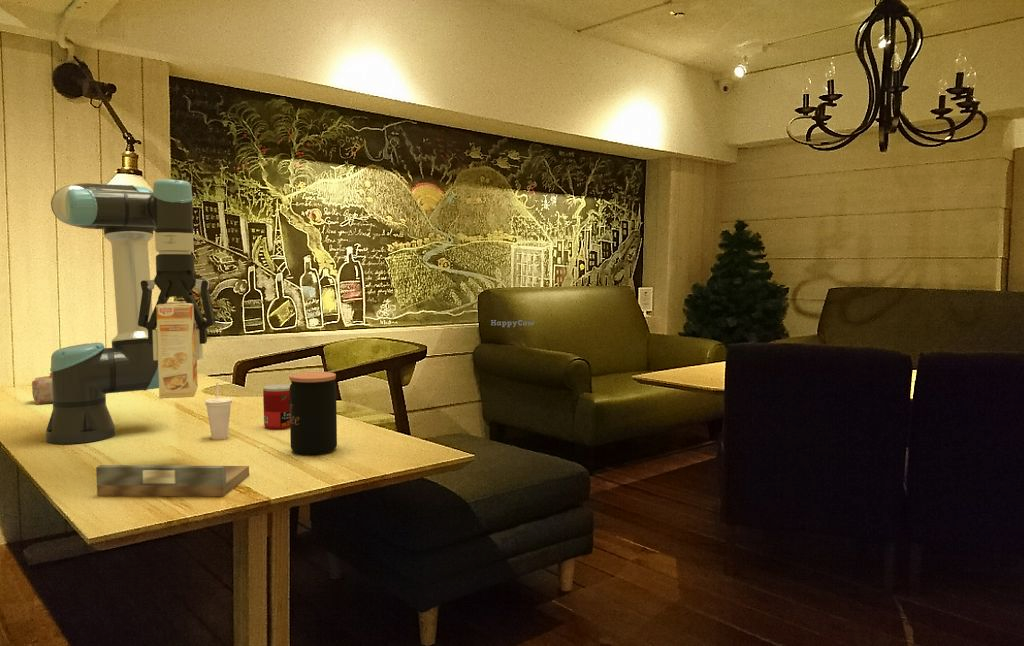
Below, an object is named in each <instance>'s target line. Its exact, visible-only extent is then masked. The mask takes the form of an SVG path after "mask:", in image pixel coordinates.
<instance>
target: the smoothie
mask: <svg viewBox="0 0 1024 646" xmlns="http://www.w3.org/2000/svg"><path fill="white" fill-rule="evenodd" d="M219 387H220V386H219V382H216V383H215V390H216V396H215V397H216V398H215V397H214V398H209V399H205V404H204V405H205V406H206V412H207V417H208V423H209V429H210V435H211V439H212V440H215V441H216V440H217V441H218V440H226V439H227V438H228V436H229V435H228V434H229V426H230V419H231V418H230V417H231V410H232V409H231V408H232V404H233V399H232V398H230V397H220V393H219V392H220V391H219V389H220V388H219Z"/></svg>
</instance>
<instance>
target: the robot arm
mask: <svg viewBox="0 0 1024 646" xmlns="http://www.w3.org/2000/svg"><path fill="white" fill-rule="evenodd" d="M192 191H193V189H192V185H191V183H190V182H189V181H186V180H184V179H183V180H181V179H157V180H155V181H153V188H152V190H151V189H149V188H148V187H145V186H137V185H133V184H130V185H127V184H126V185H125V184H124V185H123V184H105V183H92V182H91V183H89V182H88V183H87V182H85V183H82V182H81V183H75V184H70V185H69V184H68V185H66V186H64V187H61V188H59V189H57V190H56V191H55V192H54V194H53V196H52V197H51V201H50V208H51V211H52V214H53V215H54V216H55V217H56V218H57V219H58V220H59V221H60V222H62V223H64V224H66V225H69V226H73V227H76V228H82V229H86V230H87V229H89V230H90V229H91V230H103V237H104V238H105V239H106V240H107V241H109V242H110V244H111V256H112V271H113V286H114V288H113V289H114V300H115V313H116V317H115V318H116V326H117V327H116V329H117V331H116V332H117V334H116V335H115V336H114V337H113V339H112V340H111V347H105V345H104V343H102V342H91V343H82V344H81V343H80V344H76V345H69V346H65V347H62V348H59V349H57V350H55V351H53V352H52V354H51V356H50V357H51V358H50V369H49V371H50V373H52V400H53V403H52V412H51V415H50V417H49V421H48V424H47V427H46V430H45V441H46V442H47V443H50V444H55V445H56V444H58V445H61V444H62V445H64V444H65V445H69V444H81V443H84V444H85V443H92V442H97V441H102V440H105V439H108V438H111V437H113V436H115V434H116V429H115V428H116V427H115V426H116V425H115V423H114V421H113V419H112V416H111V414H110V411H109V409H108V406H107V394H118V393H128V392H138V391H148V390H155V389H159V372H158V339H157V310H156V305H158V304H165V303H167V302H169V300H170V298H174V297H178V298H183V300H184V301H186V303H191V304H193V306H194V319H195V321H196V326H197V328H196V329H195V354H196V360H197V361H198V360H202V359H204V356H203V355H204V353H203V352H204V351H203V345H204V344H207V342H208V335H207V334H208V333H207V332H208V331H207V329H209V327H213V326H215V325H216V323H217V322H216V318H215V313H214V308H213V303H212V298H211V292H210V287H211V280H209V279H204V280H202V279H198V278H197V276H196V273H195V256H194V255H193V254H192V253H193V252H194V251H195V245H194V243H195V242H194V220H193V218H194V217H193V216H194V215H193V200H194V197H193V192H192ZM153 238H154V243H155V247H154V248H155V251H156V252H158V254H156V255H155V271H156V274H155V276H154V279H151V273H150V272H151V271H150V259H149V247H148V246H149V242H150V240H152V239H153ZM155 285H156V287H157V288H158V289H159V291H160V292H159V294H158V298H157V301H156V304H155V306H154V308H153V301H152V300H153V297H152V296H153V295H152V294H153V290H154V289H155ZM195 286H197V288H198V290H200V296H201V302H202V306H203V307H202V308H203V310H204V312H203V313H204V315H203V314H202V311H201V309H200V307H199V305H198V303H197V301H196V299H195V295H194V293H193V292H192V290H193V289H194V288H195ZM204 317H205V318H204Z"/></svg>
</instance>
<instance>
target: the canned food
mask: <svg viewBox="0 0 1024 646" xmlns="http://www.w3.org/2000/svg"><path fill="white" fill-rule="evenodd" d="M290 385H291V384H286V383H285V384H282V383H281V384H279V383H278V384H268V385H265V386H263V389H262V394H263V395H262V397H263V398H262V399H263V400H262V401H263V403H262V404H263V424H264V425H263V426H264V428H265V429H267V430H272V431H277V430H278V431H282V430H289V429H290V389H289V388H290Z"/></svg>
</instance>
